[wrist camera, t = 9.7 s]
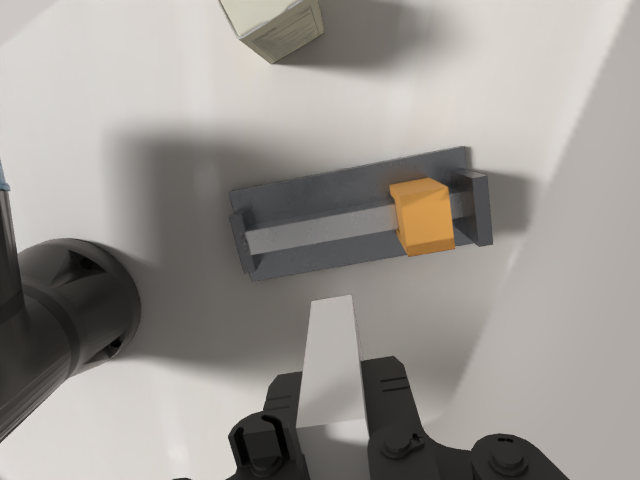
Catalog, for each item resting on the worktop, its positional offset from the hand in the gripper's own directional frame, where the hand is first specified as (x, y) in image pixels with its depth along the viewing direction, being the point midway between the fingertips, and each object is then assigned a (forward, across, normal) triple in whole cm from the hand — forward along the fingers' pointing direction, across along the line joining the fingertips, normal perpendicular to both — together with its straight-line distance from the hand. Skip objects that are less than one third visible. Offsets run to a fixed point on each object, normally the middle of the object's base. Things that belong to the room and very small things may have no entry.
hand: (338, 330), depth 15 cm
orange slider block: (+27, +8, -2) cm, 28 cm away
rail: (+28, +2, -2) cm, 28 cm away
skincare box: (+28, -2, +17) cm, 33 cm away
